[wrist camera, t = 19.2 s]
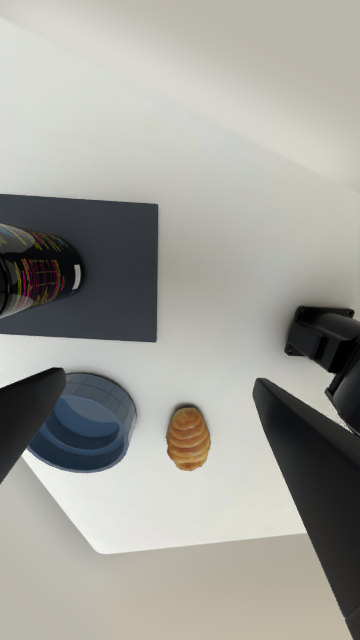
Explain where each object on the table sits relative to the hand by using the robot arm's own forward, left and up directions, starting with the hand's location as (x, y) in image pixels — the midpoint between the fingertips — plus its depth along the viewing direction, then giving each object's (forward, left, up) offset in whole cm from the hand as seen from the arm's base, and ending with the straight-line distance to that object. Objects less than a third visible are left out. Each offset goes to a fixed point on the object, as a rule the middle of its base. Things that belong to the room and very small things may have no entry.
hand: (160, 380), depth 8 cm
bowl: (+12, +17, -13) cm, 25 cm away
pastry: (-3, +20, -13) cm, 24 cm away
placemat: (+12, -3, -13) cm, 18 cm away
